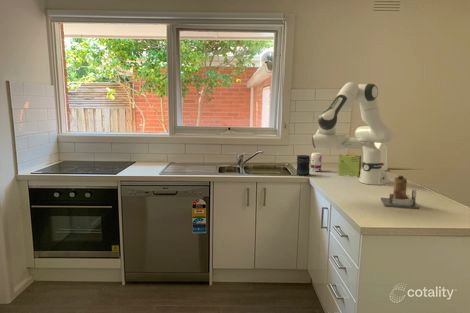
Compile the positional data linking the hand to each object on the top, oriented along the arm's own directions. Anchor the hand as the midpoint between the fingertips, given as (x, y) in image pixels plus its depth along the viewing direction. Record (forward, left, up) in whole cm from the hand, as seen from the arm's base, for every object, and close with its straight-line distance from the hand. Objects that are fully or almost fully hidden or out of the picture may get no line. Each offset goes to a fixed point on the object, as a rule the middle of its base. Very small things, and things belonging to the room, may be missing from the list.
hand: (368, 143), depth 172 cm
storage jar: (-21, -70, -32) cm, 80 cm away
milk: (-89, -51, -32) cm, 107 cm away
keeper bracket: (-8, +14, -32) cm, 36 cm away
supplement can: (-41, -75, -32) cm, 91 cm away
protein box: (-51, -50, -32) cm, 78 cm away
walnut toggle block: (-8, +14, -31) cm, 35 cm away
